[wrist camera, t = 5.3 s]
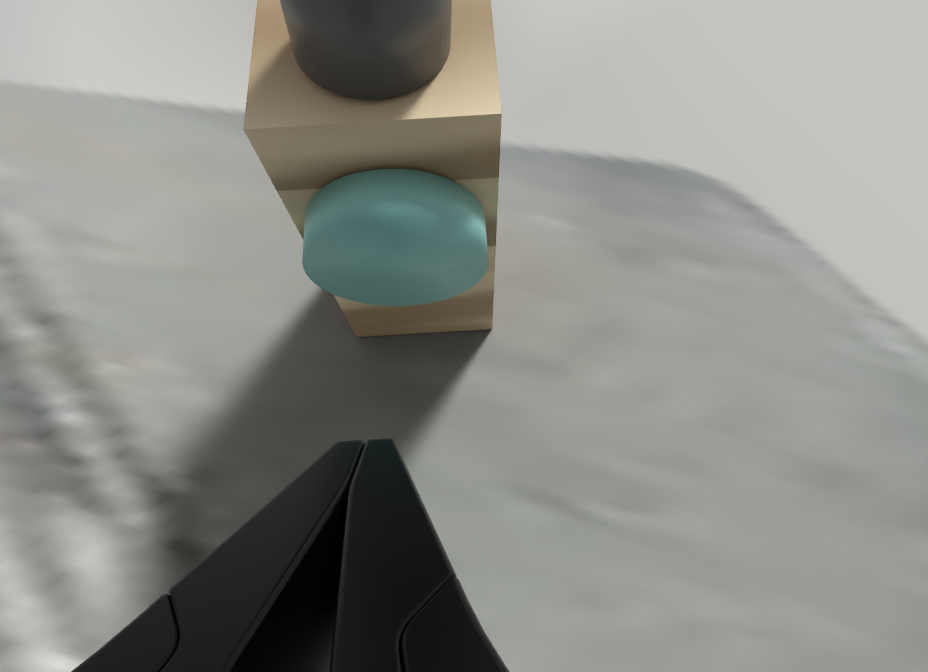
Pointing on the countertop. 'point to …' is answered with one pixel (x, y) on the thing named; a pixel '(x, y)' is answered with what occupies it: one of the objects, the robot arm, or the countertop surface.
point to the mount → (384, 145)
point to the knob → (395, 238)
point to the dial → (369, 43)
